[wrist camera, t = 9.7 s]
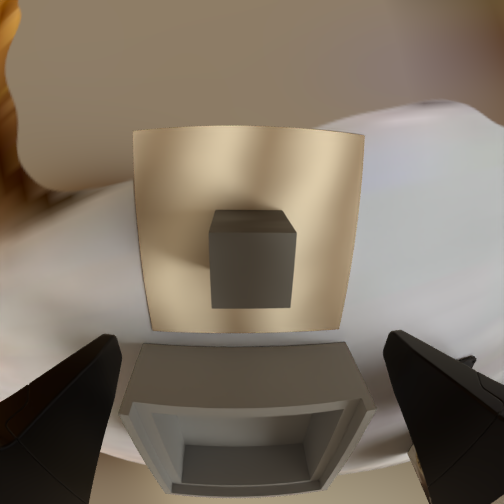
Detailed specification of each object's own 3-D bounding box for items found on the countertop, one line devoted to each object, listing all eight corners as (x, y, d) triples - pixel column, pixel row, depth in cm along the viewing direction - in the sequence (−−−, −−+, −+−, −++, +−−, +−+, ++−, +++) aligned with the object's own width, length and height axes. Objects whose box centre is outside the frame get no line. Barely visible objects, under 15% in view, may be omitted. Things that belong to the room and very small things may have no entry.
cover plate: (359, 135, 16) (401, 136, 12) (335, 323, 22) (358, 368, 17) (137, 131, 16) (100, 129, 11) (155, 324, 21) (137, 372, 16)
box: (345, 342, 22) (376, 408, 15) (314, 438, 27) (326, 489, 20) (143, 343, 21) (118, 413, 14) (172, 440, 26) (165, 493, 20)
